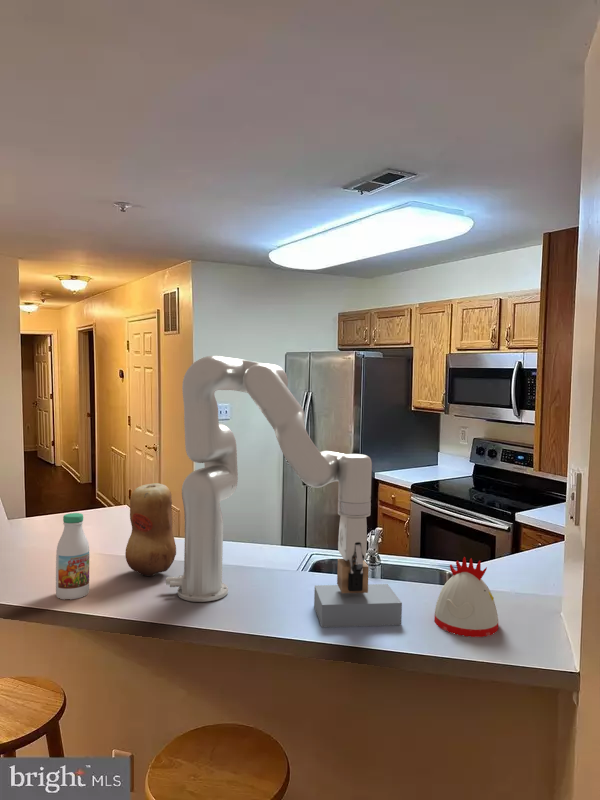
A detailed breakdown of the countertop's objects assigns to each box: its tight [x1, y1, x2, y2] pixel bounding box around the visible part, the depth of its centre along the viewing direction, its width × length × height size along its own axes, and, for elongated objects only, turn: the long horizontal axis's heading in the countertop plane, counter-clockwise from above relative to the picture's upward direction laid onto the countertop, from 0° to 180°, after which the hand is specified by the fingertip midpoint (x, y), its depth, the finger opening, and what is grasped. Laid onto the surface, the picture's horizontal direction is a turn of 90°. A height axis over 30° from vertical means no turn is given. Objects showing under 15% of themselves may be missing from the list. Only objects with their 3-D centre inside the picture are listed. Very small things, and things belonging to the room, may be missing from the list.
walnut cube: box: [336, 558, 370, 593], centre depth 131 cm, size 6×6×6 cm
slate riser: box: [313, 583, 403, 628], centre depth 132 cm, size 18×12×5 cm, turn 96°
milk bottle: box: [55, 512, 90, 600], centre depth 140 cm, size 8×8×20 cm
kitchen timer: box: [433, 556, 499, 638], centre depth 128 cm, size 14×14×15 cm
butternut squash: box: [124, 483, 177, 577], centre depth 156 cm, size 14×13×25 cm
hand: (352, 584), depth 131 cm, fingers closed on walnut cube, 6 cm apart
